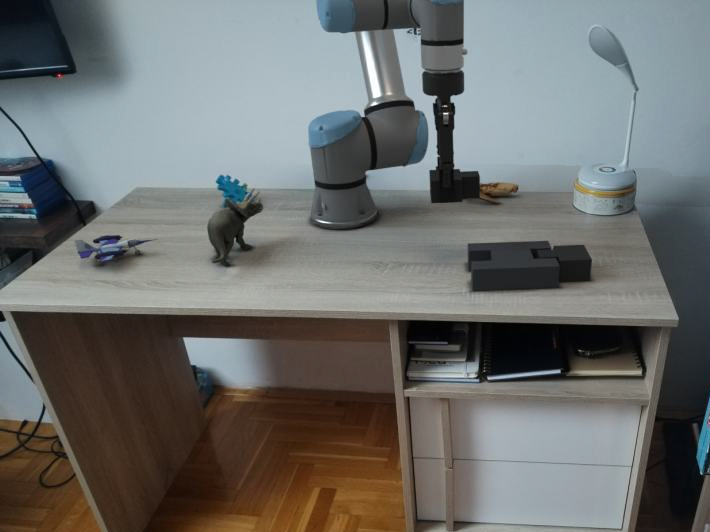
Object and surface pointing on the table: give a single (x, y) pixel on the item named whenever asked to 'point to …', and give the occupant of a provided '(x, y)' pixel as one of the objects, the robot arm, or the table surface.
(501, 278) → the base tile
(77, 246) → the toy airplane
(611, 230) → the table surface
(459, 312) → the table surface
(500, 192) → the bone fish hook
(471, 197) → the dark grey t-shaped block
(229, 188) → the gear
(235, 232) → the toy dinosaur
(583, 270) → the dark stepped block
